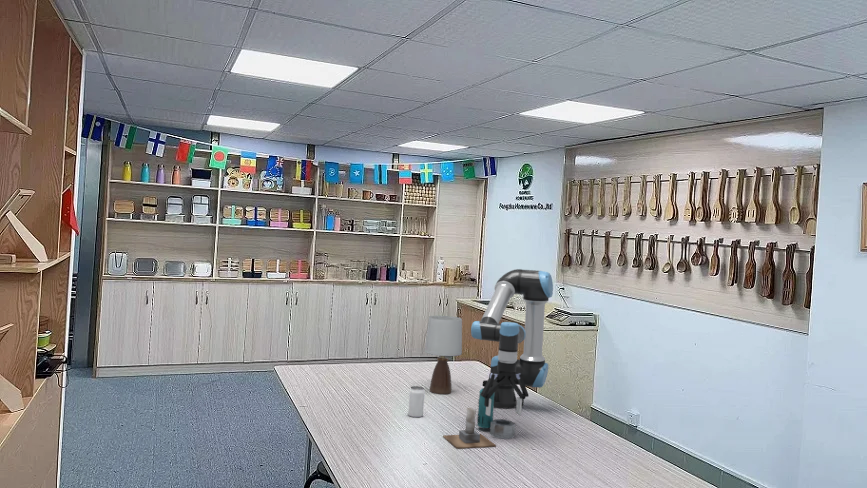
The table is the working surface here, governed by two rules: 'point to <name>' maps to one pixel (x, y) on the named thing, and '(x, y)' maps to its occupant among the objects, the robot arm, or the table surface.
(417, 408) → the can
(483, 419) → the beverage bottle
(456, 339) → the lamp
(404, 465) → the table surface
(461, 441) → the peg on square base
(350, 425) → the table surface
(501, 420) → the hub
